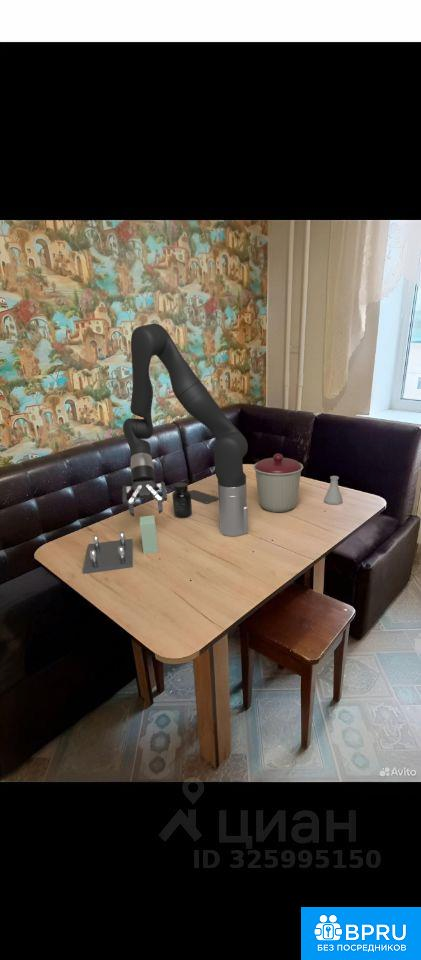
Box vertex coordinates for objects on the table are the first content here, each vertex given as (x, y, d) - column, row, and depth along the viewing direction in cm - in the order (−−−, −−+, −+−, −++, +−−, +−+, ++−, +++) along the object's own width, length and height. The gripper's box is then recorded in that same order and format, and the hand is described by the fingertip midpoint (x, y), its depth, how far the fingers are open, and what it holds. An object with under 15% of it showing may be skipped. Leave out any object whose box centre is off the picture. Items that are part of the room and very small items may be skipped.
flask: (327, 496, 162) (328, 473, 159) (345, 500, 158) (347, 475, 155) (320, 502, 157) (321, 478, 153) (339, 506, 153) (340, 481, 149)
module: (156, 543, 132) (154, 515, 128) (158, 552, 126) (155, 523, 123) (143, 545, 131) (139, 516, 128) (143, 554, 125) (140, 525, 122)
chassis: (132, 541, 133) (131, 527, 132) (132, 567, 119) (130, 551, 117) (89, 547, 131) (86, 532, 130) (83, 573, 116) (80, 557, 115)
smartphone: (193, 489, 176) (219, 497, 165) (193, 491, 176) (219, 499, 165) (180, 494, 171) (206, 502, 160) (180, 496, 171) (206, 505, 160)
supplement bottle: (180, 510, 156) (177, 480, 153) (195, 512, 153) (193, 482, 149) (170, 516, 151) (167, 486, 147) (186, 519, 148) (183, 489, 144)
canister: (262, 496, 166) (262, 446, 159) (306, 501, 159) (308, 449, 152) (247, 513, 151) (246, 458, 144) (295, 520, 143) (296, 463, 136)
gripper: (119, 466, 132) (122, 512, 125) (163, 462, 134) (168, 507, 127) (121, 476, 139) (125, 520, 132) (163, 472, 141) (168, 515, 134)
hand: (146, 514), depth 130 cm, fingers open, 8 cm apart
